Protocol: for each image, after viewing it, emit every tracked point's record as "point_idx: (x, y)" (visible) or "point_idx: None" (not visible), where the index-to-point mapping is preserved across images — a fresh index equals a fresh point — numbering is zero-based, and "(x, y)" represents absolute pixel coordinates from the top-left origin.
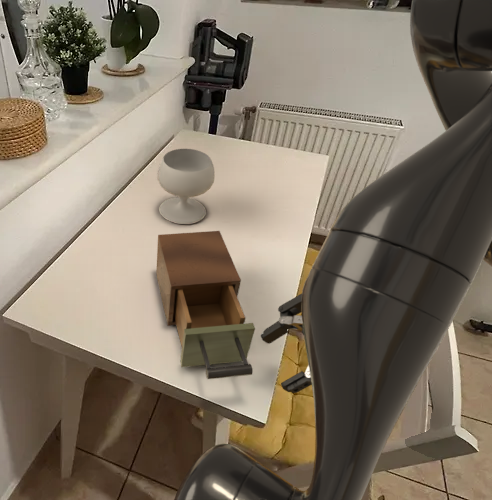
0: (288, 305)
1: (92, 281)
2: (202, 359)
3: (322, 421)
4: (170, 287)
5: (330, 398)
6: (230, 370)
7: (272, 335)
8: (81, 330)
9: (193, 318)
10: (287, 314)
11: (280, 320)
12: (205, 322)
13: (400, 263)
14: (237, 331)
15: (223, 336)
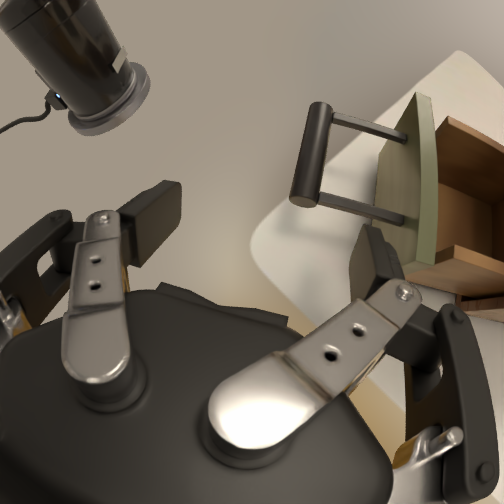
0: (462, 348)
1: None
2: (382, 179)
3: None
4: None
5: None
6: (309, 142)
7: (362, 258)
8: (449, 85)
9: (469, 220)
10: (422, 331)
11: (405, 284)
12: (460, 238)
13: None
14: (416, 207)
15: (410, 179)
